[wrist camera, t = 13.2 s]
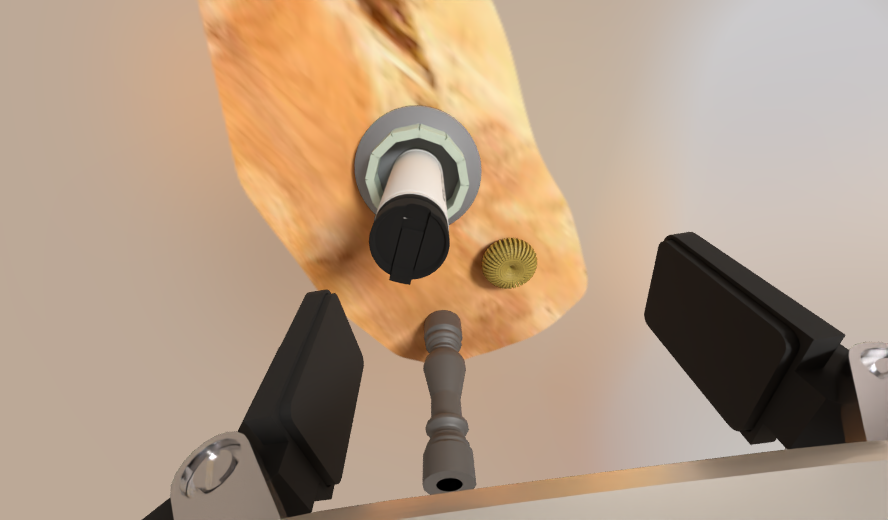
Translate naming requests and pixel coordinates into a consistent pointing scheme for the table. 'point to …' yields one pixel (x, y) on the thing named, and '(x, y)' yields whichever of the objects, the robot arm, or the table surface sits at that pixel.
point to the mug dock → (419, 132)
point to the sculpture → (509, 263)
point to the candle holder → (446, 408)
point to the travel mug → (412, 218)
